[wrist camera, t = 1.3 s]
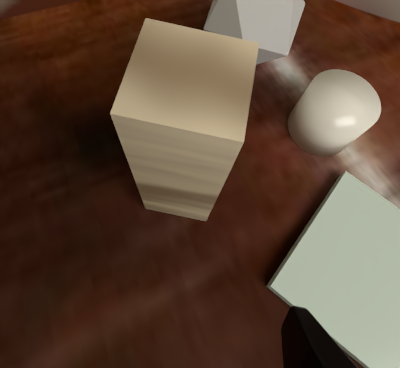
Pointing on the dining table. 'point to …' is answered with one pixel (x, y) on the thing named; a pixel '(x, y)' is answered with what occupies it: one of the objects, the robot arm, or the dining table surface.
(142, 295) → the dining table surface
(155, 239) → the dining table surface
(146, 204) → the maple block
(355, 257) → the tile
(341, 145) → the cream marshmallow cylinder
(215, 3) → the die
